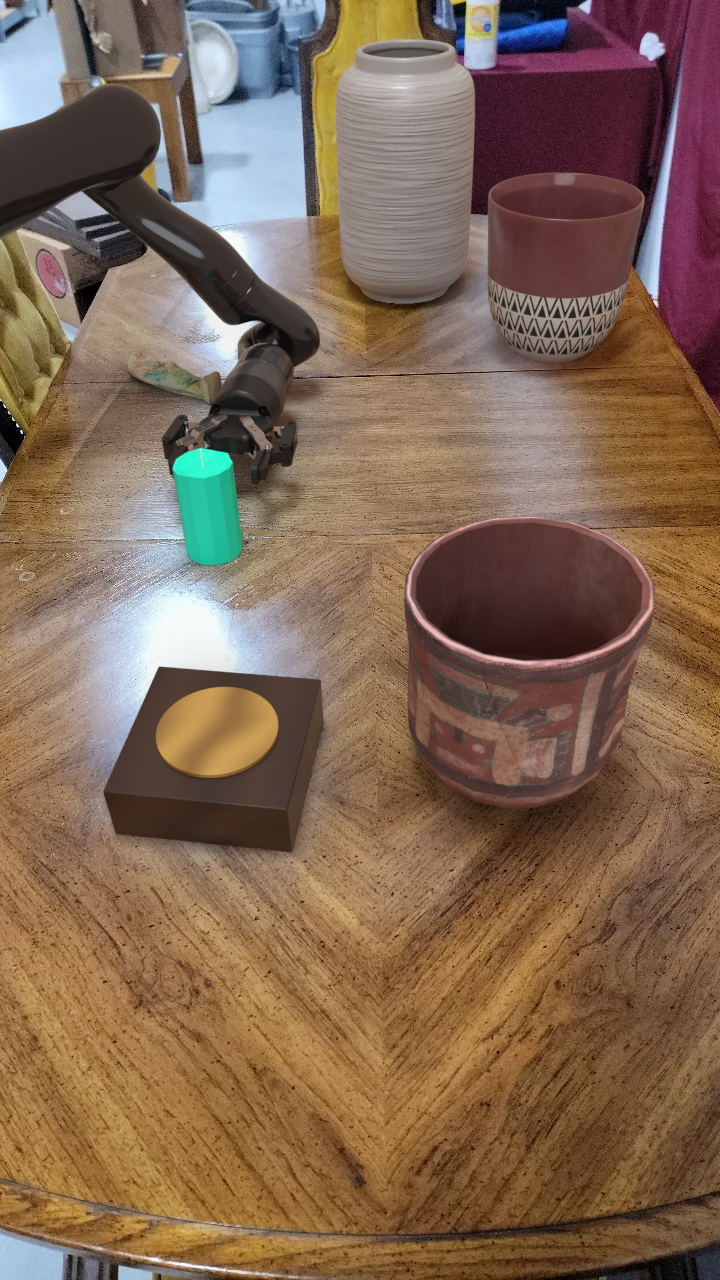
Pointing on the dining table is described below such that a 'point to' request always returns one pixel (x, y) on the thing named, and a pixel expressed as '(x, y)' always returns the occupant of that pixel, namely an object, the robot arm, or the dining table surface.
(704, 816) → the dining table surface
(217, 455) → the candle
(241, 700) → the stand
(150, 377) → the figurine
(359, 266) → the vase
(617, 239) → the planter
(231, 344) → the dining table surface
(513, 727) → the pottery
